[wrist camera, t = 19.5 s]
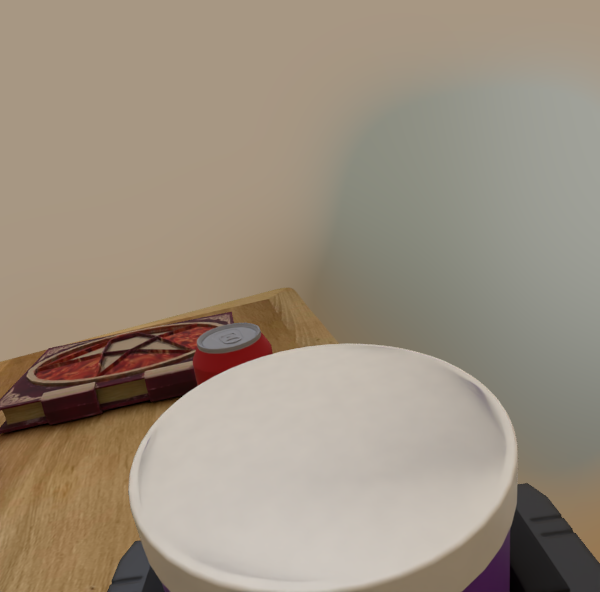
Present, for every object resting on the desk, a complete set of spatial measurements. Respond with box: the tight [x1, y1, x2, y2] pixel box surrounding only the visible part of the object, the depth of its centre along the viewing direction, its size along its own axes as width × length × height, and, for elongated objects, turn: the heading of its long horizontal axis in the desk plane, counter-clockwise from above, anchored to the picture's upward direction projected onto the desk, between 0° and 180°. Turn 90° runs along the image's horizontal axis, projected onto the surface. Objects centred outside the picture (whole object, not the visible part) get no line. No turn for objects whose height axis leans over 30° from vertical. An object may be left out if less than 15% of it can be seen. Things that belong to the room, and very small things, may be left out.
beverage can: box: [193, 323, 273, 385], centre depth 38 cm, size 7×7×12 cm
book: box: [0, 312, 234, 434], centre depth 60 cm, size 28×21×5 cm
